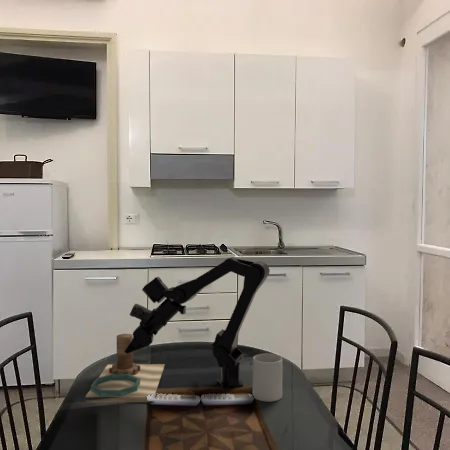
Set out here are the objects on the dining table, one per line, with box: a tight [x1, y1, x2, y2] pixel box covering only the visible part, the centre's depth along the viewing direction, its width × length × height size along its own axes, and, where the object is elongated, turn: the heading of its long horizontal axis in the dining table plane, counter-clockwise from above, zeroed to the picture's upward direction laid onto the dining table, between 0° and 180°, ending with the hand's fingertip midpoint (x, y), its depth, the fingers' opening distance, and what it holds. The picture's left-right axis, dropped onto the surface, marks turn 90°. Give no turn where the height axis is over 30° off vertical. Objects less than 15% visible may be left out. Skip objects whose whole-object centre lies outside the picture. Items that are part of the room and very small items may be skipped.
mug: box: [251, 353, 283, 403], centre depth 135 cm, size 12×8×11 cm
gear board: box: [84, 363, 166, 403], centre depth 142 cm, size 27×19×3 cm
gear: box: [109, 333, 140, 375], centre depth 149 cm, size 10×10×12 cm
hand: (128, 347), depth 149 cm, fingers open, 9 cm apart
